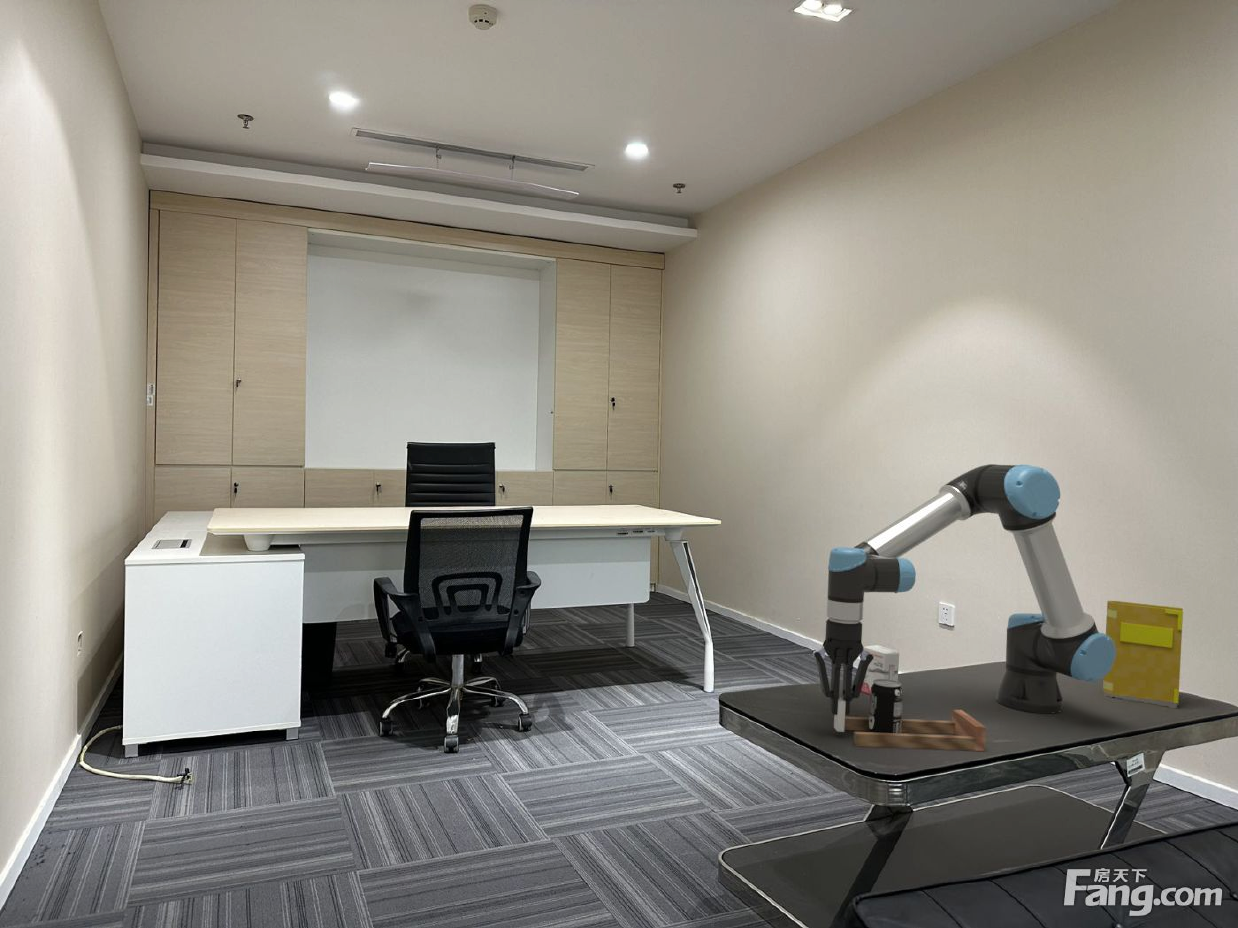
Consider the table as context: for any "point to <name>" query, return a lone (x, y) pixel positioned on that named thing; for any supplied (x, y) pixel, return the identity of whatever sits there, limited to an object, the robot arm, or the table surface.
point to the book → (1144, 650)
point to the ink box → (880, 666)
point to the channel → (962, 726)
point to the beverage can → (885, 706)
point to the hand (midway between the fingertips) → (838, 729)
